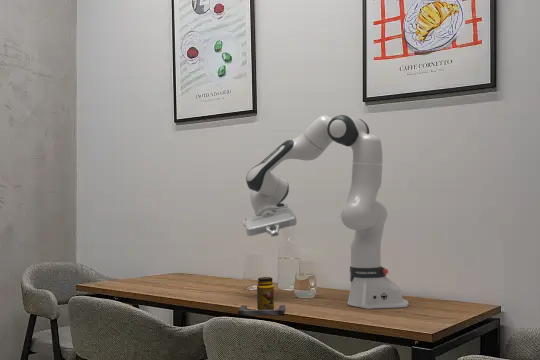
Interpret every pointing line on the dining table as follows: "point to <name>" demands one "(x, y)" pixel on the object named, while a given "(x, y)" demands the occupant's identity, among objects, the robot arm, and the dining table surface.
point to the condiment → (265, 294)
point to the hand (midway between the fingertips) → (275, 234)
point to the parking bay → (261, 311)
